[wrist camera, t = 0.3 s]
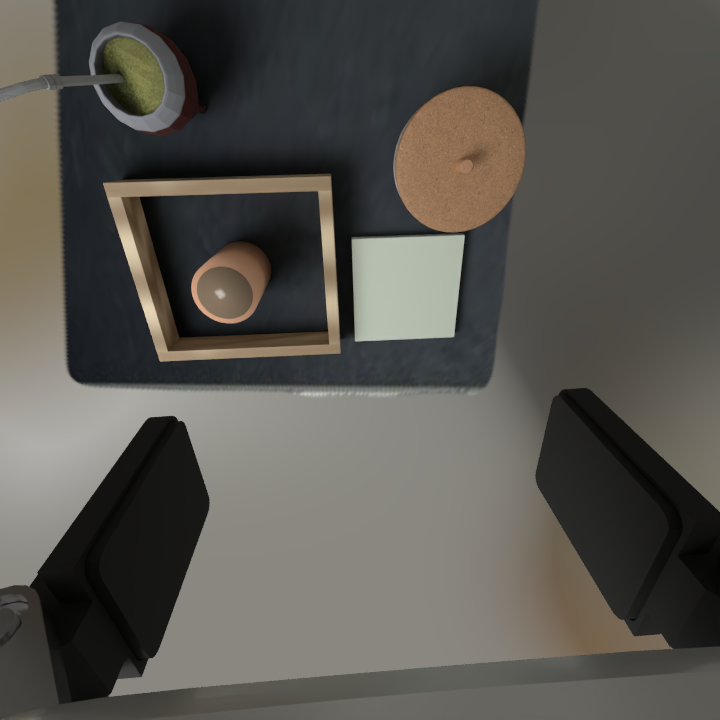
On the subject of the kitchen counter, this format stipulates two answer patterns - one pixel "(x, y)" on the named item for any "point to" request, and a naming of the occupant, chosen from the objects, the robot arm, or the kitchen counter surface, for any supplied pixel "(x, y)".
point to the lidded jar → (460, 159)
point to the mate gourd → (133, 79)
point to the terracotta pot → (232, 282)
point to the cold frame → (152, 286)
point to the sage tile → (406, 285)
